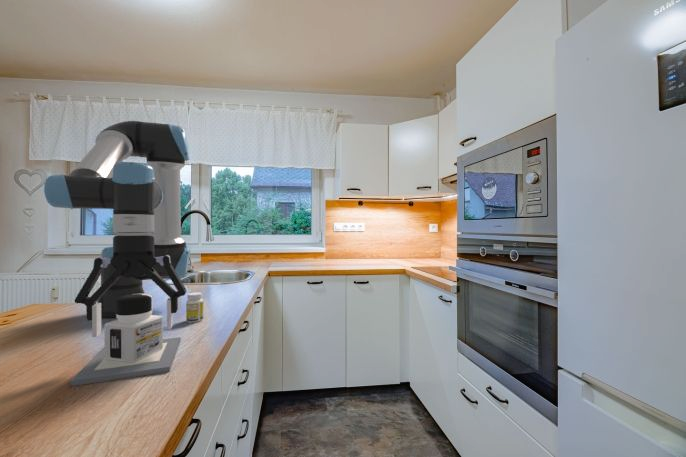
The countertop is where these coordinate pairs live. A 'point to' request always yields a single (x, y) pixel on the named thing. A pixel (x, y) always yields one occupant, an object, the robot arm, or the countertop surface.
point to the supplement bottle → (194, 307)
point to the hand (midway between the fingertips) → (134, 331)
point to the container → (133, 330)
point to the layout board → (127, 365)
